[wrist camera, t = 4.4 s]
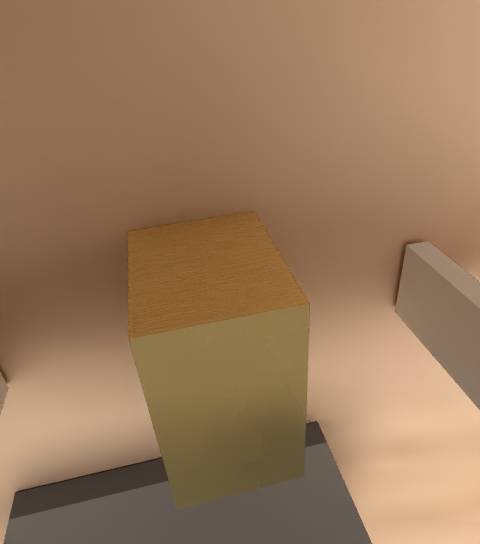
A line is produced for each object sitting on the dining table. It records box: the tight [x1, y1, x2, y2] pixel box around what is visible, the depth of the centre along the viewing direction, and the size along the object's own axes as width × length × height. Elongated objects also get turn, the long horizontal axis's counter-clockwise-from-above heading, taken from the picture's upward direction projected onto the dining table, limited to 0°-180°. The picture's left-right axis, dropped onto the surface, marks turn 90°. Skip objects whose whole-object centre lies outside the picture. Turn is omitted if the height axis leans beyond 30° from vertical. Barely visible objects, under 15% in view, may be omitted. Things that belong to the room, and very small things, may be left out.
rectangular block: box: [128, 211, 310, 509], centre depth 12 cm, size 6×4×4 cm, turn 4°
